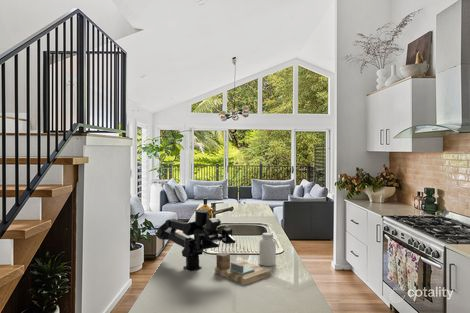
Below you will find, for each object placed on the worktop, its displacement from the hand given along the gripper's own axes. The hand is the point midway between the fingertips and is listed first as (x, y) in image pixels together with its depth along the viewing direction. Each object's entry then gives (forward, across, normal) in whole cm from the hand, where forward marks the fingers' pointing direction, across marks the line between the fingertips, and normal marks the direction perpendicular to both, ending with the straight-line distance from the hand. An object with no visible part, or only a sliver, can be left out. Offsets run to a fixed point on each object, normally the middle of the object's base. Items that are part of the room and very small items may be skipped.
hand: (227, 243), depth 154 cm
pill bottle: (-4, +31, +17) cm, 36 cm away
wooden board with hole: (-2, +12, +17) cm, 21 cm away
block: (-10, +7, +15) cm, 19 cm away
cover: (0, +10, +14) cm, 17 cm away
